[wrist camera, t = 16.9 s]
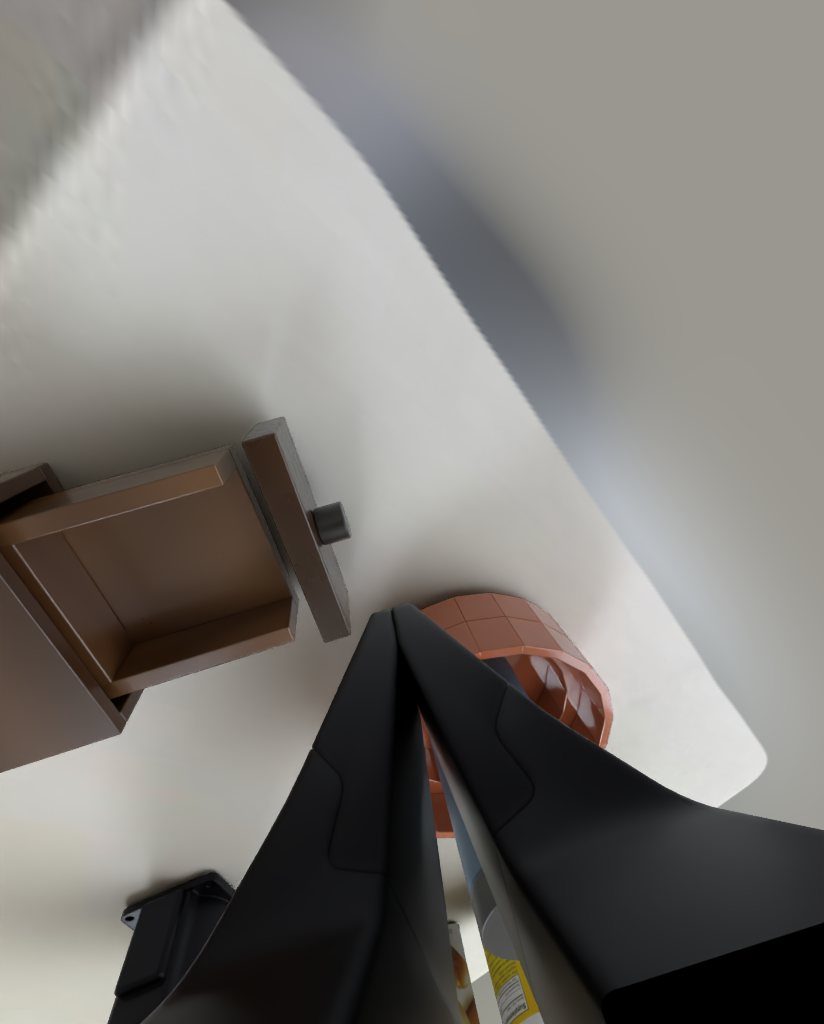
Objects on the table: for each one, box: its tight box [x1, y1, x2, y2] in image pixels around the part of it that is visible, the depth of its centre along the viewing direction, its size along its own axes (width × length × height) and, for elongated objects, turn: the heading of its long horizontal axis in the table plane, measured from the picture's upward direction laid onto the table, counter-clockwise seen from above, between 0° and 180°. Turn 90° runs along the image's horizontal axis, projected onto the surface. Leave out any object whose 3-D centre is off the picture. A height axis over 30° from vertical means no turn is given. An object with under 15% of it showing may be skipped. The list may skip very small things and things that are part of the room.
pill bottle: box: [481, 940, 544, 1024], centre depth 31 cm, size 6×6×11 cm
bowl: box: [418, 593, 613, 838], centre depth 24 cm, size 13×13×5 cm
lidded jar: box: [429, 657, 529, 961], centre depth 20 cm, size 6×6×11 cm
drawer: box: [0, 417, 351, 699], centre depth 17 cm, size 12×9×3 cm
